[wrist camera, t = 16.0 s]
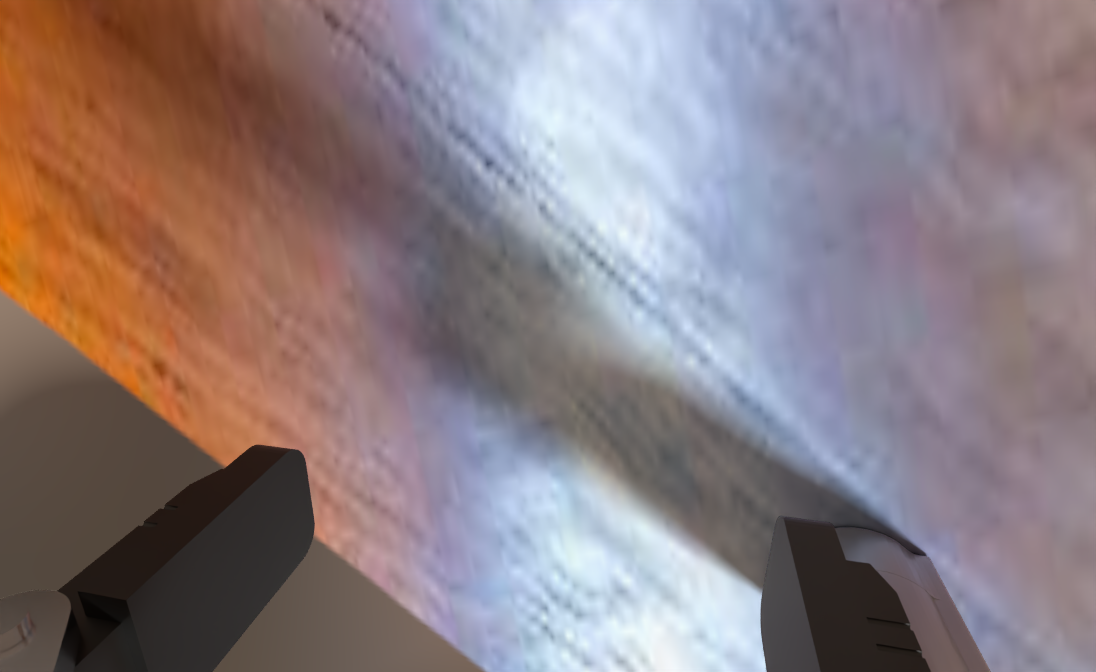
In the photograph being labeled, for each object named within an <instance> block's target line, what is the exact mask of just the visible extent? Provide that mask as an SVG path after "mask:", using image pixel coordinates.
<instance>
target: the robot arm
mask: <svg viewBox="0 0 1096 672" xmlns="http://www.w3.org/2000/svg"><path fill="white" fill-rule="evenodd" d="M314 525H315V523H314V515H313V508H312V501H311V495H310V488H309V481H308V474H307V468H306V462H305V458H304V456H303V454H302V453H301V452H300V451H299V450H295V449H287V448H280V447H272V446H265V445H254V446H252V447H250V448H249V449H248V450H246V451H245V452H244V453H243V454H242V455H240V456H239V457H238V458H237V459H236V460H234V461H233V462H232V463H231V464H229V465H228V466H227V467H226V468H225V469H221V470H218V471H216V472H215V473H212V474H210V475H208V476H206V477H204V478H202V479H200V480H198V481H196V482H194V483H192V484H190V485H189V486H187V487H186V488H185V489H184V490H182V491H181V492H180V493H179V494H177V495H176V496H175V497H174V498H172V499H171V500H170V501H169V502H167V503H166V504H165V507H164V509H159V510H158V511H156V512H155V513H154V514H153V515H151V516H150V517H149V518H148V519H146V520H145V521H144V525H143V526H138V527H136V528H135V529H134V530H133V531H131V532H130V533H129V534H128V535H126V536H125V537H124V538H123V539H121V540H120V541H119V542H118V543H116V544H115V545H114V546H113V547H111V548H110V549H109V550H108V551H107V552H105V553H104V554H103V555H101V556H100V557H99V558H98V559H97V560H95V561H94V562H93V563H92V564H90V565H89V566H88V567H86V568H85V569H84V570H83V571H82V572H81V573H79V574H78V575H77V576H75V577H74V578H73V579H72V580H70V581H69V582H68V583H67V584H65V585H64V586H63V587H62V588H60V589H59V590H58V591H51V590H33V591H27V592H22V593H18V594H14V595H11V596H7V597H4V598H2V599H0V672H213V670H214V669H215V668H216V667H217V665H218V664H219V663H220V662H221V660H222V659H223V658H224V657H225V655H226V654H227V653H228V652H229V651H230V649H231V648H232V647H233V645H234V644H235V643H236V642H237V641H238V639H239V638H240V637H241V636H242V634H243V633H244V632H245V631H246V629H247V628H248V627H249V625H250V624H251V623H252V622H253V621H254V619H255V618H256V617H257V616H258V614H259V613H260V612H261V611H262V610H263V608H264V607H265V606H266V605H267V603H268V602H269V601H270V599H271V598H272V597H273V596H274V595H275V593H276V592H277V591H278V590H279V588H280V587H281V586H282V585H283V584H284V582H285V581H286V579H288V577H289V576H290V575H291V573H292V572H293V571H294V570H295V569H296V567H297V566H298V565H299V564H300V562H301V561H302V560H303V559H304V557H305V556H306V554H307V552H308V550H309V548H310V545H311V542H312V539H313V535H314ZM761 636H762V643H763V650H764V656H765V663H766V670H767V672H991V671H990V669H989V668H988V666H987V664H986V662H985V660H984V658H983V656H982V654H981V653H980V651H979V649H978V647H977V645H976V643H975V641H974V639H973V638H972V636H971V634H970V632H969V630H968V628H967V626H966V625H965V623H964V621H963V619H962V617H961V615H960V613H959V611H958V610H957V608H956V606H955V604H954V602H953V600H952V598H951V596H950V595H949V593H948V591H947V589H946V587H945V585H944V583H943V582H942V580H941V578H940V576H939V574H938V572H937V570H936V568H935V567H934V565H933V563H932V561H931V559H930V558H929V557H927V556H920V555H916V554H913V553H911V552H910V551H908V550H907V549H906V548H905V547H903V546H902V545H901V544H900V543H899V542H897V541H896V540H894V539H892V538H890V537H888V536H886V535H884V534H881V533H878V532H875V531H872V530H869V529H862V528H855V527H843V528H834V526H833V524H831V523H828V522H821V521H813V520H806V519H798V518H791V517H784V516H779V517H778V519H777V521H776V525H775V529H774V534H773V539H772V545H771V550H770V555H769V560H768V566H767V571H766V576H765V581H764V587H763V592H762V599H761Z"/></svg>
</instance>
